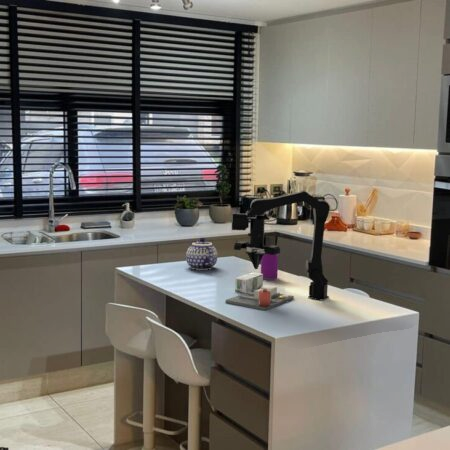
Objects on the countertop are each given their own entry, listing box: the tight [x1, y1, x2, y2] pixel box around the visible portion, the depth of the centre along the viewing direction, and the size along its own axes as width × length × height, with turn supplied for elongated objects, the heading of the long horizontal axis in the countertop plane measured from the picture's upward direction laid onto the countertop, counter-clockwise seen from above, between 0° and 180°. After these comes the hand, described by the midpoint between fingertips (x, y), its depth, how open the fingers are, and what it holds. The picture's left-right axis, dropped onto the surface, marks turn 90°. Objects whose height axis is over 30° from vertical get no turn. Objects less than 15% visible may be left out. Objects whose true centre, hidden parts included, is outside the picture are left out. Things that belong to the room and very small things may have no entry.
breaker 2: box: [260, 284, 278, 295], centre depth 281 cm, size 5×4×4 cm
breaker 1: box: [254, 288, 271, 299], centre depth 274 cm, size 5×4×4 cm
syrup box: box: [234, 271, 264, 294], centre depth 296 cm, size 6×6×14 cm
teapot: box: [185, 237, 218, 271], centre depth 336 cm, size 25×15×15 cm, turn 20°
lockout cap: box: [259, 289, 271, 306], centre depth 267 cm, size 4×4×6 cm
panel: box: [225, 288, 295, 311], centre depth 277 cm, size 18×22×2 cm
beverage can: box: [260, 254, 279, 281], centre depth 316 cm, size 8×8×12 cm
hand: (256, 269), depth 281 cm, fingers closed
